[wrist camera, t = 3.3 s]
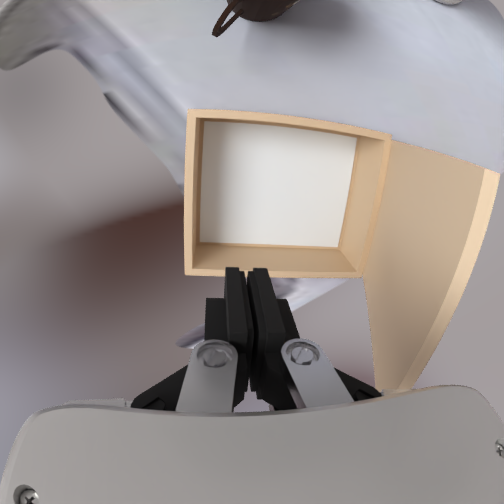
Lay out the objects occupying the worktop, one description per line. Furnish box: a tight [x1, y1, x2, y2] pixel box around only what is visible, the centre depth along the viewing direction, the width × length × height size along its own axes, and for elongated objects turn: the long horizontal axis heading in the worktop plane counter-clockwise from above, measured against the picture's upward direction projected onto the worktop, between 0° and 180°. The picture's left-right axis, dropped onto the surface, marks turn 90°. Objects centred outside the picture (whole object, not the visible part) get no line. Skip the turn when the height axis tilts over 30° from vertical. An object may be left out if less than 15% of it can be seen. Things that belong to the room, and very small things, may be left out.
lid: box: [363, 140, 500, 392], centre depth 19 cm, size 14×18×1 cm
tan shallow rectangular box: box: [184, 109, 392, 278], centre depth 28 cm, size 15×18×6 cm
